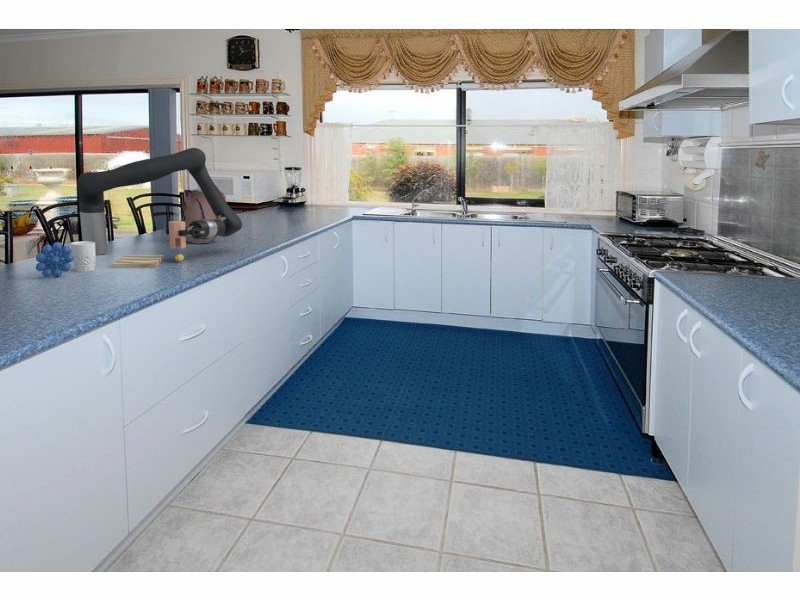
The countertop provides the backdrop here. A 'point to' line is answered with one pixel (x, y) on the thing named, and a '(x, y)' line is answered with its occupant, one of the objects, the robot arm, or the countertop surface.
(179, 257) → the mustard ball
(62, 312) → the countertop surface
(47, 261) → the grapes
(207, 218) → the ceramic pitcher
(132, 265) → the oak board
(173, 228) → the salmon octagonal post
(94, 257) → the white cup
